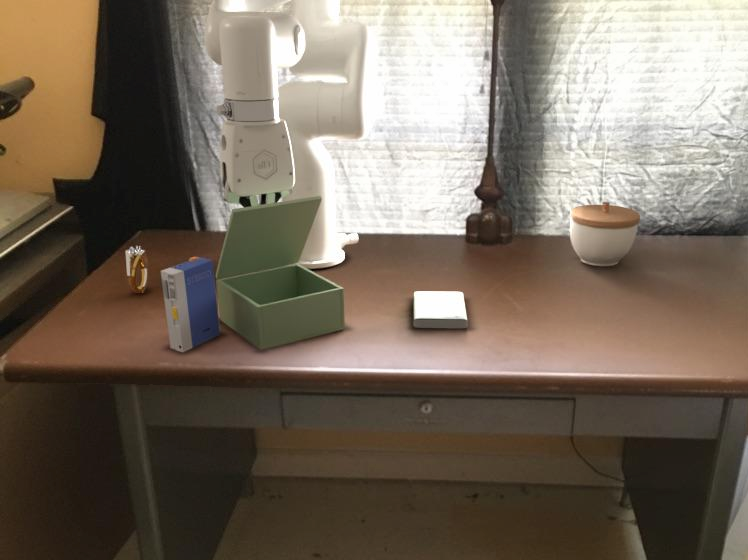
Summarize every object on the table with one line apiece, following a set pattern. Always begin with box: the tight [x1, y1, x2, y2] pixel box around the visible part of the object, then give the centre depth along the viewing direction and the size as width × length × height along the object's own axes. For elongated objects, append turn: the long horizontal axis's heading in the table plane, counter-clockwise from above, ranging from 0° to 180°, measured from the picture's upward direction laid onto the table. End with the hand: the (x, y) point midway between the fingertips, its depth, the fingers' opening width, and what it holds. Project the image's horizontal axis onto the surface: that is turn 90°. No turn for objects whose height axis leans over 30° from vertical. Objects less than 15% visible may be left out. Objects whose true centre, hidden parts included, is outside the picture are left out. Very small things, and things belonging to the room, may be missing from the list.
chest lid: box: [214, 196, 322, 280], centre depth 127 cm, size 15×14×1 cm
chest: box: [215, 264, 346, 351], centre depth 129 cm, size 14×14×7 cm
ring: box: [125, 245, 150, 294], centre depth 141 cm, size 7×3×8 cm, turn 172°
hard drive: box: [413, 290, 468, 329], centre depth 135 cm, size 2×8×12 cm
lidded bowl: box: [569, 201, 641, 267], centre depth 158 cm, size 13×13×11 cm
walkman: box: [160, 256, 221, 353], centre depth 122 cm, size 8×3×12 cm, turn 148°
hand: (261, 237), depth 128 cm, fingers closed
